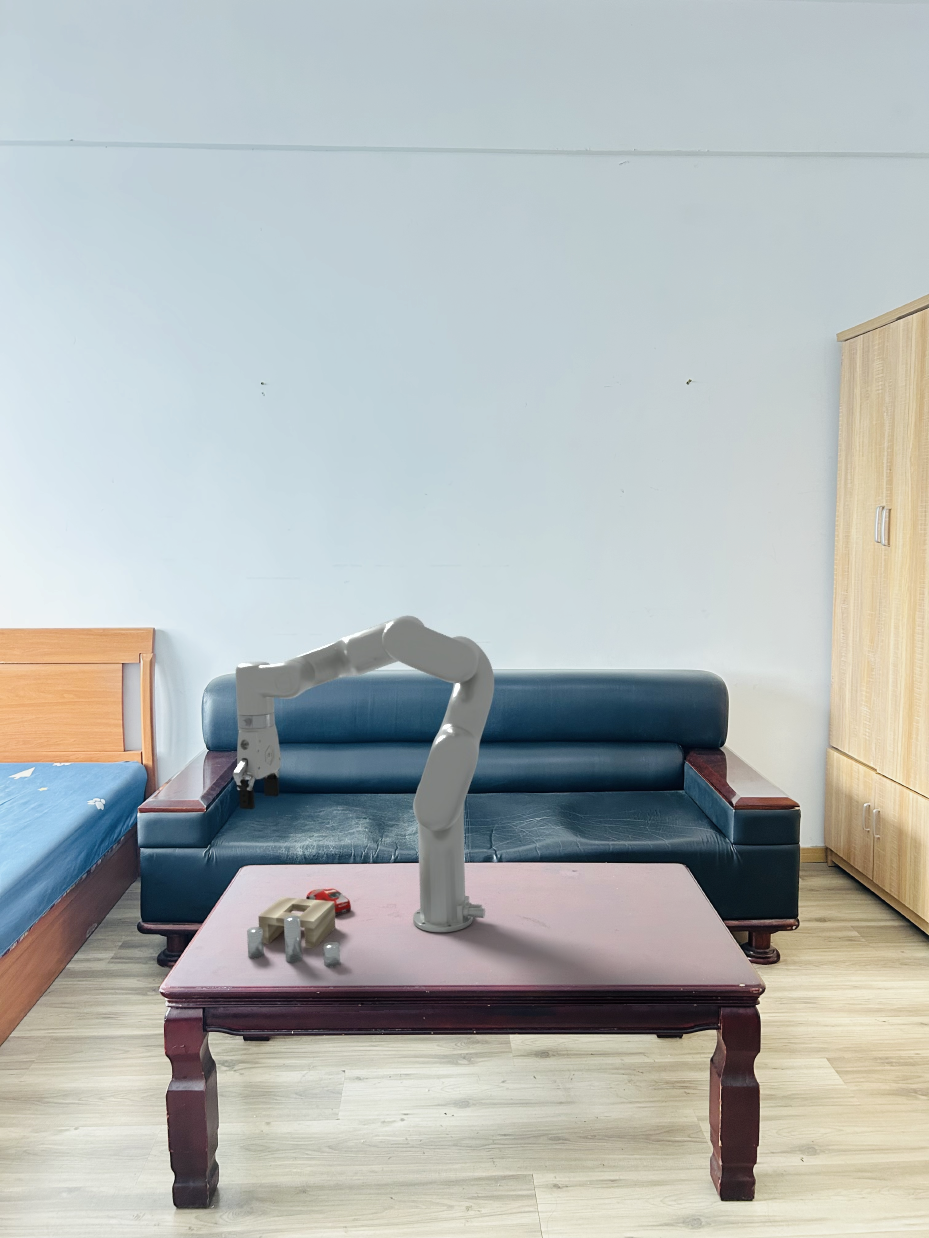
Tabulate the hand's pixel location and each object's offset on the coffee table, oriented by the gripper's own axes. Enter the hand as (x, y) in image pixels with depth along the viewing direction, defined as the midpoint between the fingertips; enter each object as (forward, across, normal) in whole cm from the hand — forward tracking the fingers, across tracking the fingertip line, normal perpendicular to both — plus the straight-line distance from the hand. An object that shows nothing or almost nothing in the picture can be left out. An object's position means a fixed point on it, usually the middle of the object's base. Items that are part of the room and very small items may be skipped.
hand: (259, 802), depth 182 cm
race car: (+26, +11, -9) cm, 30 cm away
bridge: (+26, -4, -10) cm, 28 cm away
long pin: (+26, -14, -14) cm, 33 cm away
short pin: (+26, -14, -22) cm, 37 cm away
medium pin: (+26, -14, -6) cm, 30 cm away
